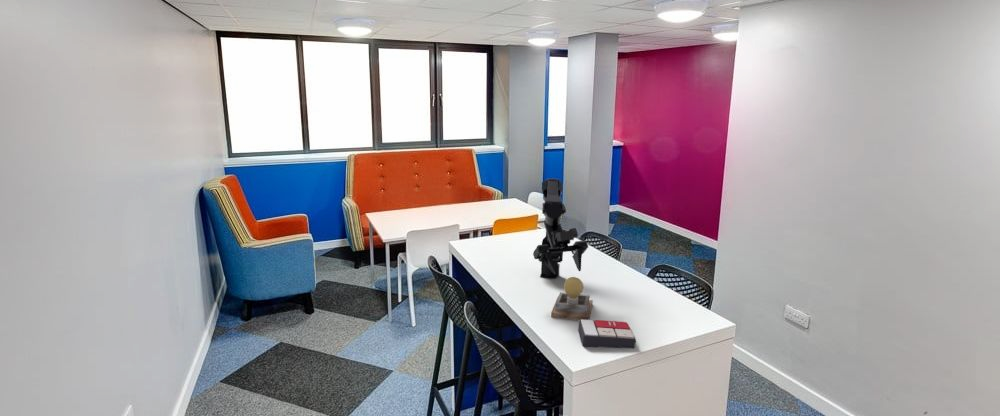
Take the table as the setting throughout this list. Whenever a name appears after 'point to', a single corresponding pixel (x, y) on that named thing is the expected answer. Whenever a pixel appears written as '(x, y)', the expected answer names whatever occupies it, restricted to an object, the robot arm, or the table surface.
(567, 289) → the light bulb
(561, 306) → the square frame
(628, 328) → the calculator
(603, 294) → the table surface
